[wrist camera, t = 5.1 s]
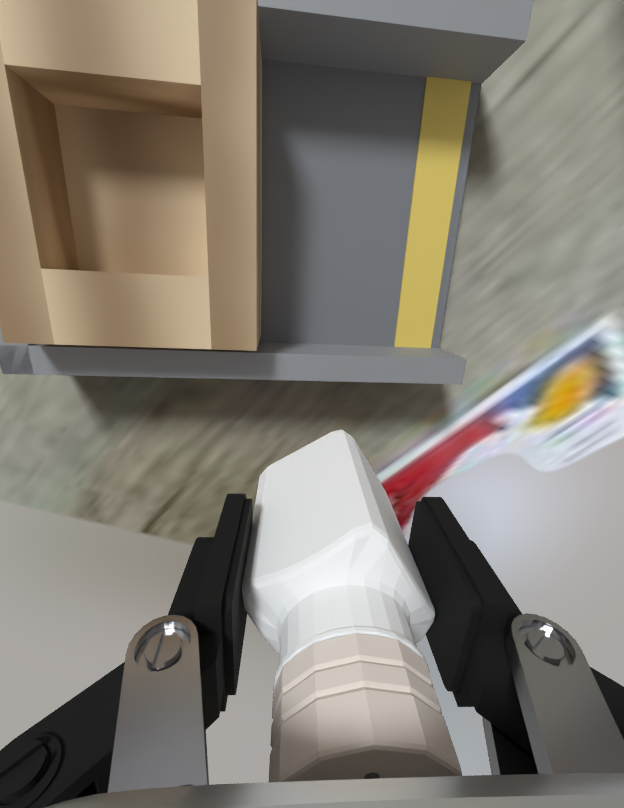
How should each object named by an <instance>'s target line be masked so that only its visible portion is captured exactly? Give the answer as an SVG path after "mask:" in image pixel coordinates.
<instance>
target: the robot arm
mask: <svg viewBox="0 0 624 808" xmlns="http://www.w3.org/2000/svg"><path fill="white" fill-rule="evenodd" d="M251 530H252V499H246V494H227V497H226V500H225V503H224V506H223V510H222V513H221V516H220V520H219V523H218V526H217V530H216V533H215V536H214V537H198V538H197V539H196V541H195V543H194V546H193V549H192V551H191V554H190V556H189V559H188V562H187V565H186V568H185V570H184V573H183V575H182V578H181V581H180V584H179V586H178V589H177V592H176V594H175V597H174V600H173V603H172V605H171V608H170V611H169V614H168V616H163V617H160V618H157V619H155V620H153V621H151V622H149V623H148V624H146V625H145V626H143V628H141V629H140V630H139V631H138V632H137V633H136V634H135V635H134V637H133V639H132V640H131V642H130V643H129V646H128V649H127V653H126V658H125V662H124V663H122V664H121V665H120V666H118V667H117V668H115V669H114V670H112V671H111V672H110V673H108V674H107V675H105V676H104V677H102V678H101V679H100V680H98V681H97V682H95V683H94V684H93V685H91V686H90V687H88V688H87V689H85V690H84V691H82V692H81V693H79V694H78V695H77V696H75V697H74V698H72V699H71V700H70V701H68V702H67V703H65V704H64V705H62V706H61V707H60V708H58V709H57V710H55V711H54V712H52V713H51V714H49V715H48V716H47V717H45V718H44V719H42V720H41V721H40V722H38V723H37V724H35V725H34V726H32V727H31V728H29V729H28V730H27V731H25V732H24V733H22V734H21V735H19V736H18V737H17V738H15V739H14V740H13V741H11V742H10V743H9V744H8V745H6V746H5V747H4V748H3V749H2V750H1V751H0V808H624V687H623V686H621V685H620V684H618V683H616V682H615V681H613V680H611V679H610V678H608V677H606V676H605V675H603V674H601V673H600V672H598V671H596V670H594V669H593V668H591V667H589V665H588V663H587V660H586V658H585V656H584V654H583V652H582V650H581V648H580V647H579V645H578V643H577V642H576V640H575V639H574V638H573V637H572V636H571V635H570V634H569V633H568V632H567V631H566V630H564V629H563V628H562V627H561V626H559V625H558V624H556V623H554V622H553V621H551V620H549V619H547V618H545V617H542V616H538V615H535V614H522V613H521V612H520V610H519V609H518V607H517V606H516V604H515V603H514V601H513V599H512V598H511V596H510V595H509V594H508V592H507V591H506V589H505V587H504V586H503V585H502V583H501V581H500V580H499V579H498V577H497V575H496V574H495V572H494V571H493V569H492V568H491V566H490V565H489V563H488V562H487V560H486V559H485V557H484V556H483V554H482V553H481V551H480V550H479V549H478V547H477V545H476V544H475V543H474V542H473V541H471V540H469V538H468V537H467V535H466V534H465V532H464V531H463V529H462V527H461V526H460V524H459V523H458V521H457V520H456V518H455V517H454V515H453V514H452V512H451V511H450V509H449V508H448V506H447V504H446V503H445V501H444V500H443V499H442V498H441V497H423V498H422V499H421V501H418V502H416V505H415V510H414V516H413V522H412V527H411V533H410V539H409V545H408V547H409V549H410V551H411V554H412V556H413V559H414V561H415V564H416V566H417V568H418V571H419V573H420V576H421V578H422V580H423V583H424V585H425V588H426V590H427V593H428V595H429V597H430V600H431V602H432V605H433V607H434V609H435V617H434V621H433V623H432V625H431V626H430V628H429V629H428V631H427V632H426V636H427V639H428V642H429V645H430V647H431V650H432V653H433V656H434V658H435V661H436V664H437V667H438V670H439V672H440V675H441V678H442V680H443V683H444V686H445V688H446V689H447V691H452V692H453V694H454V697H455V700H456V702H457V705H458V707H472V706H473V707H475V710H476V712H477V713H479V714H480V715H481V716H482V717H483V726H484V732H485V737H486V744H487V749H488V756H489V761H490V767H491V773H492V775H482V776H447V777H414V778H383V779H351V780H322V781H296V782H269V783H244V784H217V785H209V776H208V760H207V744H206V729H207V728H208V727H209V726H210V725H211V724H212V723H213V722H214V721H215V720H216V719H217V718H218V717H219V714H220V711H225V709H226V703H227V696H228V695H235V694H236V689H237V682H238V675H239V668H240V660H241V653H242V647H243V646H242V645H243V639H244V632H245V625H246V618H247V612H246V610H245V608H244V602H243V596H242V584H243V578H244V572H245V566H246V560H247V554H248V548H249V542H250V536H251Z"/></svg>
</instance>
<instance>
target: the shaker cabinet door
mask: <svg viewBox="0 0 624 808" xmlns="http://www.w3.org/2000/svg"><path fill="white" fill-rule="evenodd" d="M261 267H262V58H261V43H260V28H259V13H258V0H0V328H1V332H2V337H3V341H4V343H23V344H55V345H87V346H119V347H151V348H183V349H215V350H247V351H257V348H258V344H259V341H260V337H261Z"/></svg>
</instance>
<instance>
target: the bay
mask: <svg viewBox="0 0 624 808" xmlns="http://www.w3.org/2000/svg"><path fill="white" fill-rule="evenodd" d="M533 1H534V0H258V13H259V28H260V43H261V58H262V267H261V337H260V341H259V344H258V348H257V351H247V350H215V349H183V348H151V347H119V346H87V345H55V344H23V343H4V341H3V337H2V332H1V328H0V364H1V369H2V373H3V374H32V375H75V376H119V377H163V378H206V379H250V380H293V381H337V382H381V383H424V384H462V381H463V376H464V370H465V365H466V360H467V359H465V358H462V357H460V356H457V355H455V354H452V353H450V352H447V351H445V350H442V349H440V348H439V344H440V338H441V332H442V326H443V319H444V313H445V307H446V301H447V294H448V288H449V282H450V276H451V270H452V263H453V257H454V251H455V245H456V238H457V232H458V226H459V220H460V213H461V207H462V201H463V195H464V188H465V182H466V176H467V170H468V164H469V157H470V151H471V145H472V139H473V132H474V126H475V120H476V114H477V107H478V101H479V95H480V89H481V84H482V83H483V82H484V81H485V80H486V79H487V78H488V77H489V76H490V75H491V74H492V73H493V72H494V71H495V70H496V69H497V68H498V67H499V66H500V65H501V64H502V63H503V62H505V61H506V60H507V59H508V58H509V57H510V56H511V55H512V54H513V53H514V52H515V51H516V50H517V49H518V48H519V47H520V46H521V45H522V44H523V43H524V42H525V41H526V38H527V33H528V28H529V22H530V17H531V12H532V6H533Z"/></svg>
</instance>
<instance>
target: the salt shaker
mask: <svg viewBox="0 0 624 808" xmlns="http://www.w3.org/2000/svg"><path fill="white" fill-rule="evenodd" d="M242 596H243V602H244V608H245V610H246V612H247V614H248V615H249V617H250V618H251V620H252V621H253V623H254V624H255V626H256V627H257V629H258V631H259V632H260V634H261V635H262V636H263V637H264V638H265V640H266V641H267V642H268V643H269V644H270V646H271V647H272V648H273V649H274V651H275V652H276V653H277V654H278V655H279V656H280V659H279V668H278V670H277V671H276V673H275V681H274V689H273V691H274V693H273V708H272V718H273V723H272V728H271V747H272V751H271V754H270V767H269V782H296V781H322V780H351V779H383V778H414V777H447V776H462V773H461V768H460V764H459V761H458V758H457V755H456V752H455V749H454V746H453V743H452V740H451V737H450V734H449V731H448V728H447V726H446V722H445V719H444V717H443V716H442V712H441V708H440V705H439V701H438V698H437V696H436V693H435V690H434V688H433V685H432V681H431V678H430V675H429V667H428V665H427V663H426V660H425V659H424V656H423V654H422V652H421V651H420V650H419V649H418V648H417V646H416V643H418V642H419V641H420V640H421V639H422V638H423V637H424V635H425V634H426V632H427V631H428V629H429V628H430V626H431V625H432V623H433V621H434V617H435V609H434V607H433V605H432V602H431V600H430V597H429V595H428V593H427V590H426V588H425V585H424V583H423V580H422V578H421V576H420V573H419V571H418V568H417V566H416V564H415V561H414V559H413V556H412V554H411V551H410V549H409V547H408V544H407V542H406V539H405V537H404V535H403V532H402V530H401V527H400V525H399V523H398V520H397V518H396V515H395V513H394V510H393V508H392V506H391V503H390V501H389V498H388V496H387V494H386V491H385V490H384V488H383V486H382V485H381V483H380V481H379V480H378V478H377V476H376V475H375V473H374V471H373V470H372V468H371V466H370V465H369V463H368V461H367V460H366V458H365V456H364V455H363V453H362V451H361V450H360V448H359V446H358V445H357V443H356V441H355V440H354V438H353V437H352V436H350V435H349V434H348V433H346V432H345V431H343V430H337V431H332V432H330V433H329V434H327V435H325V436H323V437H321V438H319V439H317V440H316V441H314V442H312V443H310V444H308V445H306V446H305V447H303V448H301V449H299V450H297V451H295V452H293V453H292V454H290V455H288V456H286V457H284V458H282V459H281V460H279V461H277V462H275V463H273V464H271V465H270V466H268V467H267V468H266V469H265V470H264V471H263V473H262V474H261V475H260V478H259V484H258V490H257V496H256V502H255V508H254V513H253V519H252V530H251V536H250V542H249V548H248V554H247V560H246V566H245V572H244V578H243V584H242Z"/></svg>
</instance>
